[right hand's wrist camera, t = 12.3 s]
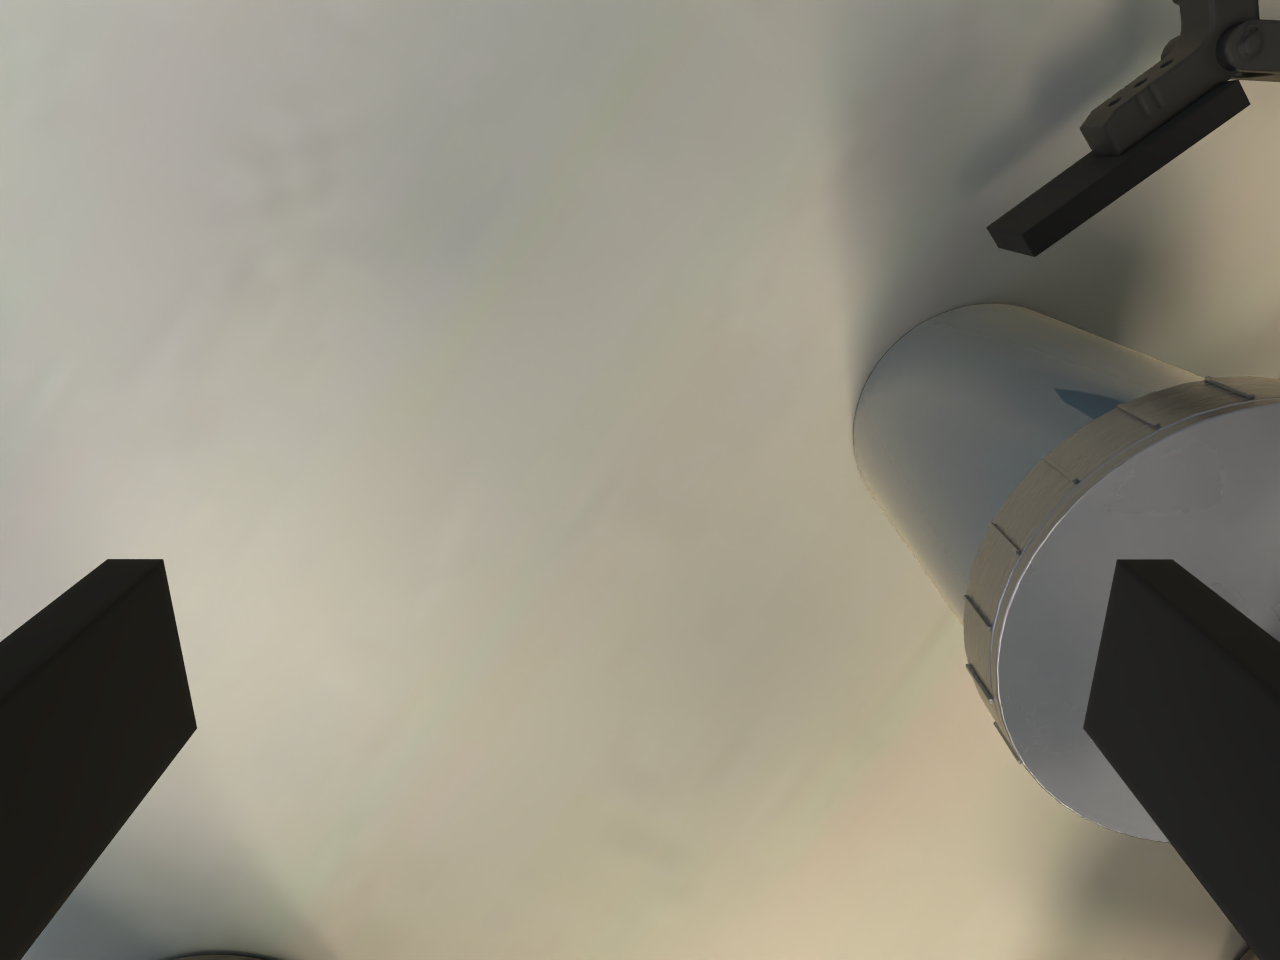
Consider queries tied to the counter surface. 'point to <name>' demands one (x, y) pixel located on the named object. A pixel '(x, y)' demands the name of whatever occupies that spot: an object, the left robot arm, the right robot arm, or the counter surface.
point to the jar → (981, 421)
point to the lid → (1086, 558)
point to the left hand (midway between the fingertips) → (1115, 419)
